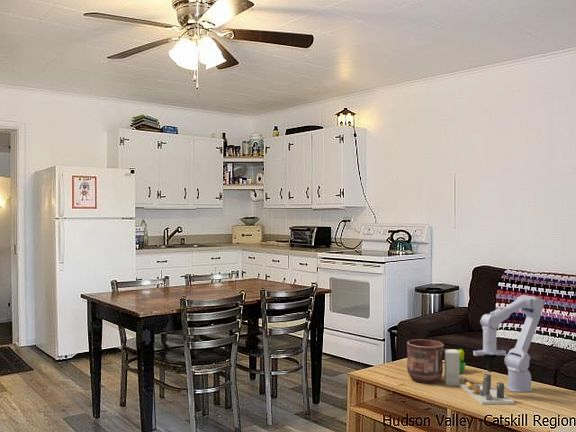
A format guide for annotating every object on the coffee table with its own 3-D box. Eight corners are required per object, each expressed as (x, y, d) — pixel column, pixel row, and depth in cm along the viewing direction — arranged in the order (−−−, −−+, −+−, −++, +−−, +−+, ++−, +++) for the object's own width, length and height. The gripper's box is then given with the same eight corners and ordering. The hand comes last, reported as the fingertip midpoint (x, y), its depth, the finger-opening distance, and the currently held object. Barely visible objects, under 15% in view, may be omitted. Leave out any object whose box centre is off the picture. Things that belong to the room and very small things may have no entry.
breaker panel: (489, 386, 253) (489, 371, 253) (514, 404, 229) (514, 387, 229) (460, 387, 252) (460, 371, 252) (482, 404, 228) (482, 387, 228)
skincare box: (459, 386, 253) (460, 353, 253) (445, 385, 254) (445, 352, 255) (457, 381, 261) (458, 349, 261) (443, 380, 263) (443, 348, 263)
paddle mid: (479, 388, 242) (467, 381, 242) (483, 391, 238) (470, 384, 238) (477, 391, 242) (465, 384, 242) (481, 394, 238) (469, 386, 238)
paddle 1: (473, 384, 249) (461, 375, 249) (476, 386, 245) (465, 378, 245) (471, 386, 249) (460, 378, 249) (475, 389, 245) (463, 381, 245)
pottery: (445, 386, 253) (446, 347, 253) (407, 383, 256) (407, 345, 256) (441, 376, 270) (441, 340, 271) (405, 374, 273) (406, 338, 274)
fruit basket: (443, 368, 285) (443, 346, 285) (459, 367, 286) (459, 346, 286) (451, 374, 273) (452, 352, 273) (468, 374, 274) (468, 351, 274)
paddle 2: (485, 395, 235) (485, 380, 236) (489, 398, 231) (490, 383, 231) (482, 395, 235) (482, 380, 235) (486, 398, 231) (486, 383, 231)
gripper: (477, 343, 239) (477, 374, 239) (509, 343, 240) (509, 373, 240) (471, 339, 246) (471, 369, 246) (502, 339, 247) (502, 369, 247)
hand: (489, 371), depth 244 cm, fingers closed
